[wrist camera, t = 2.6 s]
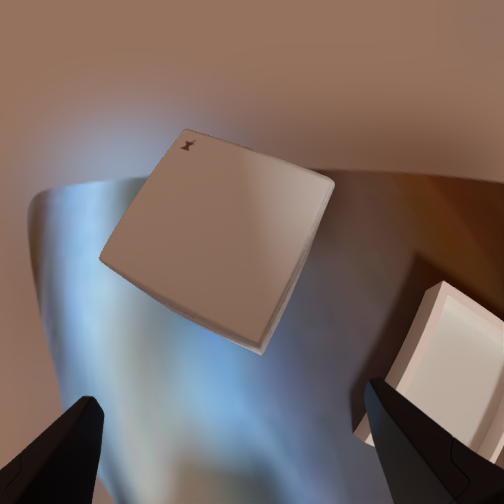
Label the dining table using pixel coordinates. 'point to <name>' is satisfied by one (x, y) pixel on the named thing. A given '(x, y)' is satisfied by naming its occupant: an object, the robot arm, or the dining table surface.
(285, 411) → the dining table surface
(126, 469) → the dining table surface
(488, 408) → the tray
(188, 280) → the supplement box
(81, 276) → the dining table surface
